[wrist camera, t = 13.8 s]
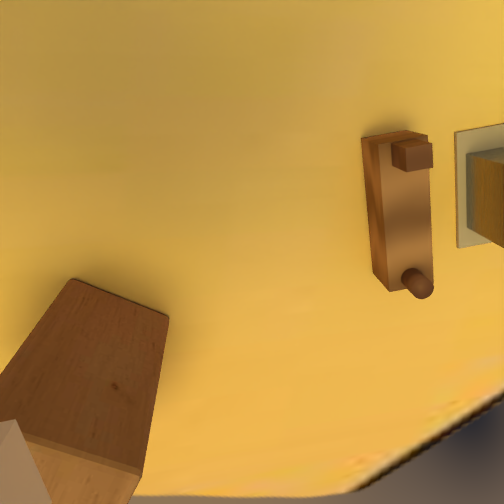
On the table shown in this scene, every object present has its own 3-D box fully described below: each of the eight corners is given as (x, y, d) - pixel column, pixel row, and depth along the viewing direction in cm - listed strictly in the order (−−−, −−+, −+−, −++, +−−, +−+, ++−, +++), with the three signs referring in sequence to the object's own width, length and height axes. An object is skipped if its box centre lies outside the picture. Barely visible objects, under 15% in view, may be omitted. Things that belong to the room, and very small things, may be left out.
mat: (454, 132, 42) (456, 133, 41) (543, 115, 42) (546, 116, 42) (456, 247, 46) (458, 248, 45) (538, 231, 46) (541, 232, 45)
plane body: (361, 138, 41) (391, 149, 34) (405, 130, 41) (445, 139, 34) (373, 272, 46) (402, 307, 39) (413, 265, 46) (449, 297, 39)
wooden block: (171, 315, 46) (143, 477, 27) (132, 395, 48) (81, 593, 29) (70, 275, 43) (-37, 421, 25) (35, 361, 46) (-86, 552, 27)
